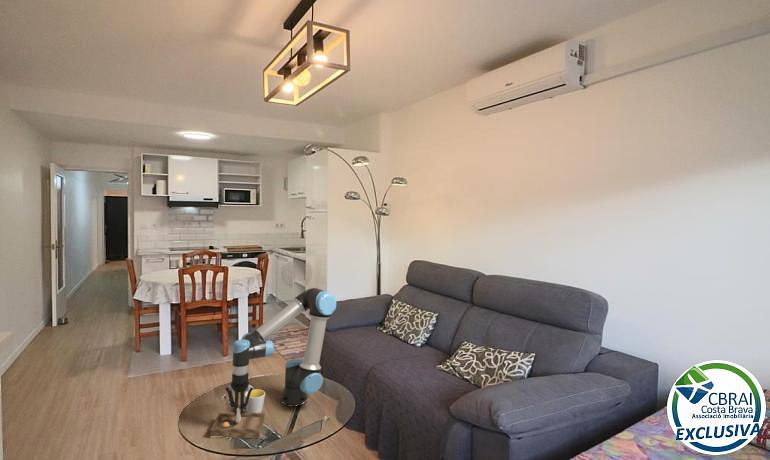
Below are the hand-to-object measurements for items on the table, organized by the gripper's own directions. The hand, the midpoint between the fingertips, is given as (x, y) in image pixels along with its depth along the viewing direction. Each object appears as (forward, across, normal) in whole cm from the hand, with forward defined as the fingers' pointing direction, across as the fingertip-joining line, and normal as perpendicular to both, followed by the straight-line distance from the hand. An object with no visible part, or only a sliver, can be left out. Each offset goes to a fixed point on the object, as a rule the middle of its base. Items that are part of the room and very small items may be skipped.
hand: (238, 420), depth 203 cm
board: (+4, 0, 0) cm, 4 cm away
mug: (+5, -5, -18) cm, 19 cm away
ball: (+2, +6, 0) cm, 6 cm away
